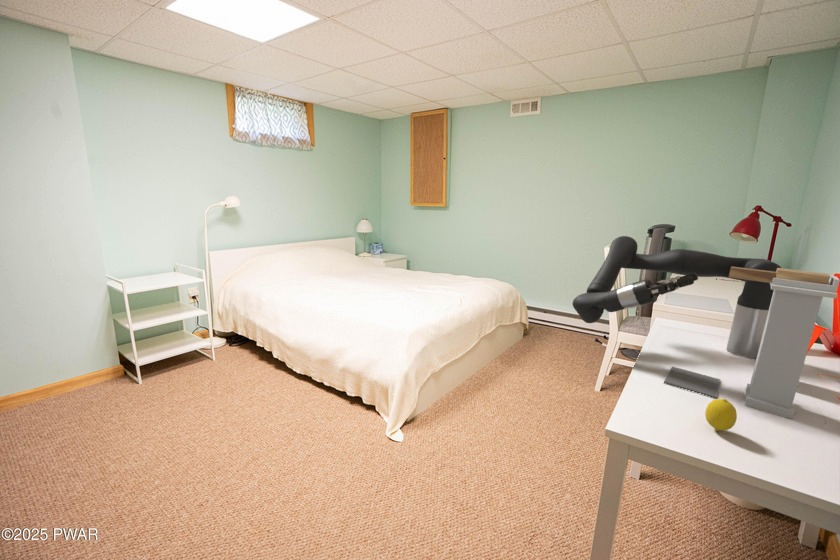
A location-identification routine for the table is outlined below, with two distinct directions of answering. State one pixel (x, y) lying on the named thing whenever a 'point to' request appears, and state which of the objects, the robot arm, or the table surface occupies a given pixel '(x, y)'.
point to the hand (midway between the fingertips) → (694, 277)
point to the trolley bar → (778, 275)
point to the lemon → (721, 414)
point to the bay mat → (692, 381)
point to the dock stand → (785, 343)
